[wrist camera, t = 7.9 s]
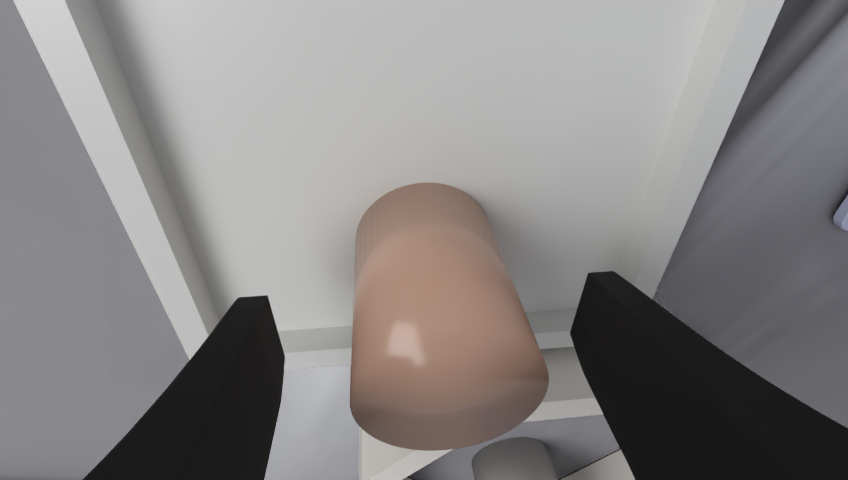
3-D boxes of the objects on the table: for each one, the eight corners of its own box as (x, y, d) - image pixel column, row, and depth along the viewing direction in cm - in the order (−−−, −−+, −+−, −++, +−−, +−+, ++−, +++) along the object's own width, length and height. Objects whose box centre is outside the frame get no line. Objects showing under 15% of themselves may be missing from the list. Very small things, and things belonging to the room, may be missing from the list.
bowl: (725, 312, 16) (786, 379, 14) (621, 485, 25) (649, 546, 22) (349, 340, 15) (346, 420, 13) (374, 513, 24) (375, 581, 21)
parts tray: (873, -371, 7) (974, -429, 6) (614, 311, 16) (633, 341, 15) (-127, -447, 6) (-250, -537, 4) (211, 341, 14) (198, 377, 13)
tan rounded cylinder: (496, 179, 11) (567, 321, 7) (483, 287, 14) (532, 441, 10) (349, 185, 11) (338, 340, 7) (360, 295, 13) (358, 458, 9)
